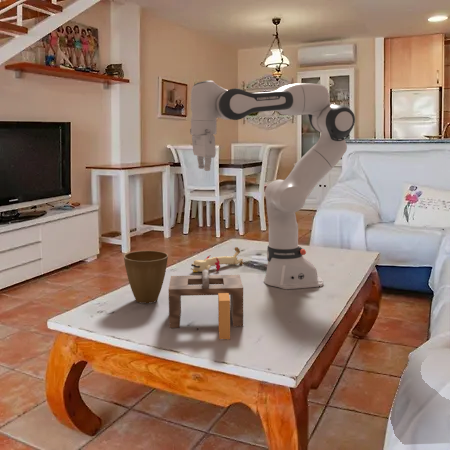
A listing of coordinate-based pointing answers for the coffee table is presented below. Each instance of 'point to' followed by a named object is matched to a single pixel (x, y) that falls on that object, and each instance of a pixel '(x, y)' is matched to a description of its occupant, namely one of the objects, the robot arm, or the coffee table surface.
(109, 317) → the coffee table surface
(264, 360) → the coffee table surface
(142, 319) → the coffee table surface
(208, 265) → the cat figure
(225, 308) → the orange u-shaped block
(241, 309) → the wooden table with hole
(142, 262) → the plant pot
